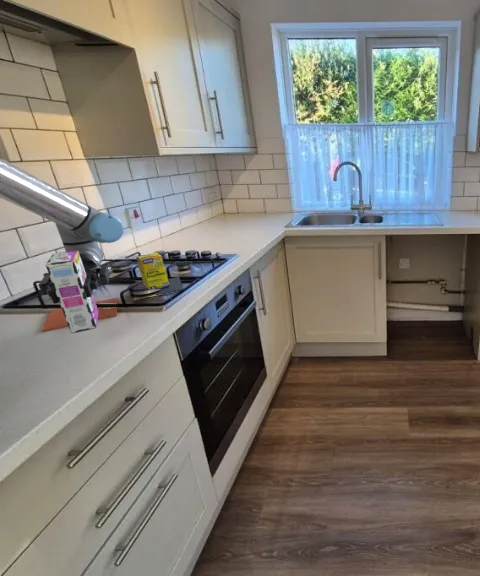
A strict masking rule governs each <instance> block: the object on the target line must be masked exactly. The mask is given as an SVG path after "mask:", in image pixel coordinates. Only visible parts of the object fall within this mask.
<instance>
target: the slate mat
mask: <svg viewBox="0 0 480 576" xmlns="http://www.w3.org/2000/svg"><path fill="white" fill-rule="evenodd" d="M168 282H169V286H170V287H167V288H163V289H162V290H161V291H160V292H159V293H158V294H156V295H159V294H166V293H171V292H176V291H181V290H184V287H183V284H182V281H181V279H180V277H179V276H177V277H170V278H168ZM184 291H185V290H184ZM181 292H182V291H181ZM176 293H177V292H176ZM171 294H172V293H171ZM166 295H167V294H166Z"/></svg>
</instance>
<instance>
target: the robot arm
mask: <svg viewBox="0 0 480 576" xmlns="http://www.w3.org/2000/svg"><path fill="white" fill-rule="evenodd" d="M0 199H1V200H4V201H6V202H9V203H10V204H13V205H15V206H17V207H19V208H22V209H23V210H26V211H28V212H30V213H33V214H35V215H38V216H39V217H41V218H43V219H46V220H48V221H50V222H52V223H54V224H55V227H56V228H57V232H58V234H59V237H60V239H61V243H62V246H63V249H64V252H67V251H77V250H78V251H79V254H80V257H81V260H82V263H83V266H84V269H85V272H86V275H87V278H86V279H85V282H84V285H83V288H84V290H85V293H86V296H87V298H88V297H91V296H92V293H93V292H94V290H97V289H98V288H99V287H100V285H101V284H102V285H108V284H109V283H110V276H111V275H112V274H113V270H112V267H111V264H110V263H105V264H103V265H101V264H102V262H103V260H104V254H103V253H104V252H103V250H102V248H101V247H100V246H99V243H101V244H113V243H115V242H117V241H119V240H120V239H121V238H122V237H123V235H124V233H125V232H124V230H125V227H124V224H123V222H122V221H121V219H120V218H118V217H117V216H115V215H113V214H111V213H109V212H102V211H100V210H98V209H96V208H94V207H92V206H90V205H88V204H86V203H85V202H83V201H81V200H79V199H78V198H75V197H74V196H72V195H70V194H68V193H67V192H64V191H63V190H61V189H59V188H57V187H55V186H54V185H52V184H50V183H48V182H46V181H44V180H43V179H40V178H39V177H37V176H35V175H33V174H32V173H29V172H28V171H26V170H23V169H22V168H20V167H18V166H17V165H14V164H13V163H11V162H9V161H7V160H6V159H4V158H1V157H0ZM42 276H43V277H42V279H41V280H40V282H39V283H38V287H39V290H40V292H41V295H42V296H48V297H49V298H50V299H51V301H52V303H53V304H54V305H56V304H60V302H59V299H58V297H57V294H56V292H55V289H54V286H53V284H52V281H51V279H50V276H49V273H48V272H44V273H43V274H42Z"/></svg>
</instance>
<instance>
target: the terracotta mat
mask: <svg viewBox="0 0 480 576" xmlns="http://www.w3.org/2000/svg"><path fill="white" fill-rule="evenodd" d="M95 302H96V304H100V303H117V302H119V298H118V297H113V298H108V299H103V300H98V301H97V300H96V301H95ZM98 311H99V312H98V320H99V321H100V320H104V319H108V318H113V317H117V315H118V307H117V308H111V309H103V308H98ZM98 320H97V321H98ZM67 327H68V328H69V326H68V324H67V321H66V318H65V316H64V313H63V310H62V308H57V309H53V310H50V312H49V314H48V317H47V318H46V321H45V323H44V325H43V327H42V329H41V332H42V333H44V332H49V331H53V330H58V329H62V328H67Z"/></svg>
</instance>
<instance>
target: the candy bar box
mask: <svg viewBox="0 0 480 576" xmlns="http://www.w3.org/2000/svg"><path fill="white" fill-rule="evenodd" d="M44 266H45V267H46V271H47V273H49V276H50V279H51V281H52V284H53V286H54V289H55V292H56V294H57V297H58V299H59V305H60V309H62V310H63V313H64V316H65V318H66V321H67V324H68V329H69V332H70V334H76V333H83V332H87V331H91V330H95V329H97V328H98V327H97V326H98V312H99V311H98V308H97V305H96V302H97V301H96V299H95V297H94V294H93V292H92V296H91V297H88V298H87V296H86V293H85V290H84V288H83V285H84V282H85V279H86V278H87V275H86V272H85V269H84V266H83V263H82V260H81V257H80V254H79V251H78V250H77V251H67V252H66V251H61V252H54V253H52V255H50V257H49V259H48V260H47V262H45V265H44Z"/></svg>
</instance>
